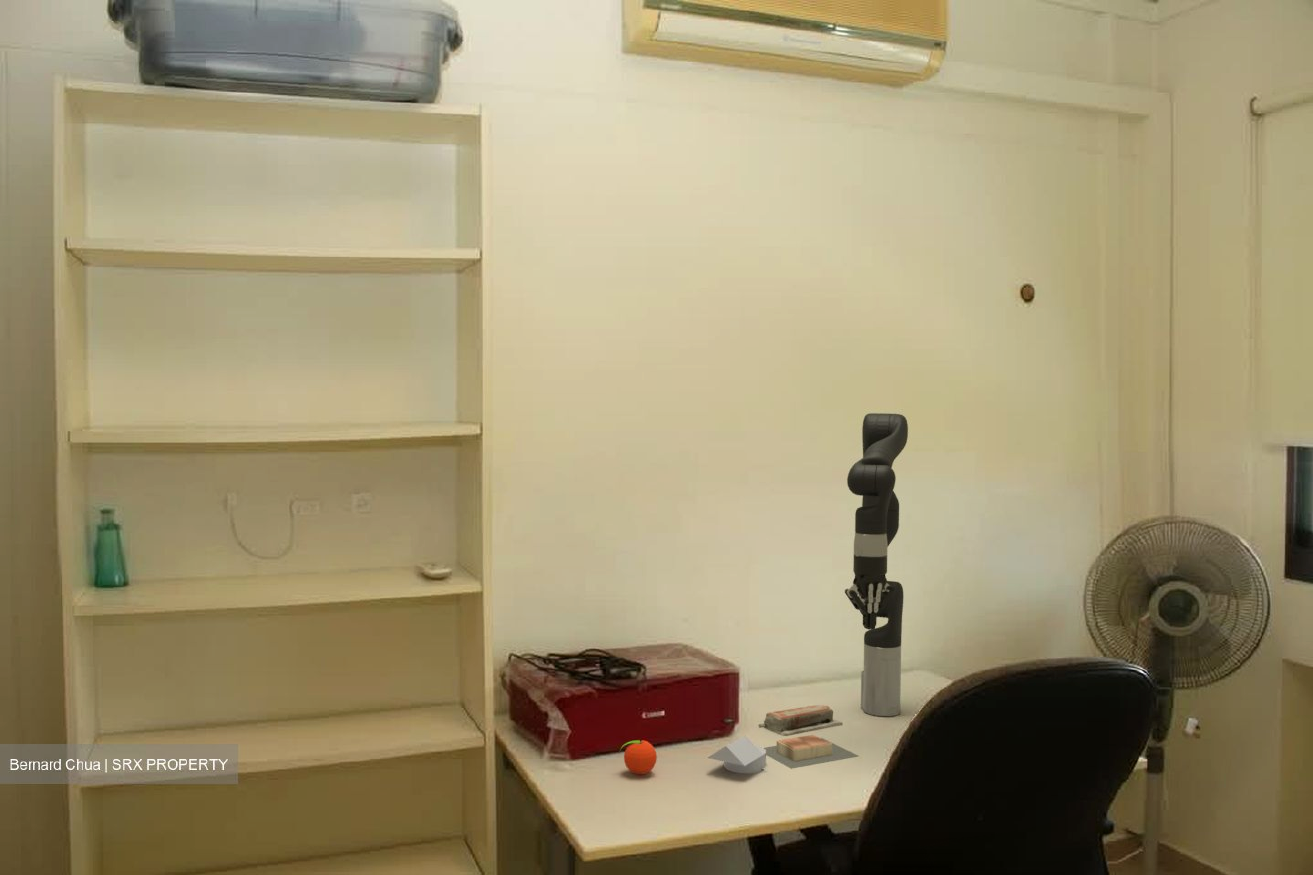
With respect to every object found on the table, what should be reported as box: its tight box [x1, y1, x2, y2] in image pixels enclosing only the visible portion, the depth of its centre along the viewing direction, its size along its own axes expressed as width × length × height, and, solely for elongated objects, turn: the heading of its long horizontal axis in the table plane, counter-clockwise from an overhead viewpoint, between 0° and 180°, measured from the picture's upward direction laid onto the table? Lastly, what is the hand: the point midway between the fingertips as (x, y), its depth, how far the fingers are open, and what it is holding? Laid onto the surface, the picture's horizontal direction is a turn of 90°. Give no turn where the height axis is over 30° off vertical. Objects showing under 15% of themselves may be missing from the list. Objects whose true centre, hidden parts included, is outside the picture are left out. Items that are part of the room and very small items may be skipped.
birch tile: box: [776, 734, 833, 761], centre depth 244 cm, size 7×3×10 cm
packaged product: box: [758, 704, 844, 737], centre depth 264 cm, size 18×5×10 cm
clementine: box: [619, 739, 658, 775], centre depth 232 cm, size 8×7×7 cm
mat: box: [763, 737, 859, 769], centre depth 244 cm, size 14×18×1 cm
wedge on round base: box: [707, 735, 767, 774], centre depth 235 cm, size 9×7×13 cm
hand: (869, 628), depth 249 cm, fingers closed
